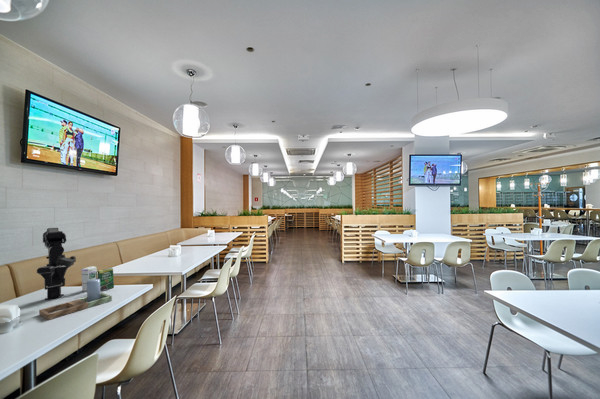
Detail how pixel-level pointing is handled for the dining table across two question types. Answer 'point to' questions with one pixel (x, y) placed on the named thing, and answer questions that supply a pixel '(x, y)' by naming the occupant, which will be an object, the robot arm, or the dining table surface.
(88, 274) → the syrup box
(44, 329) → the dining table surface
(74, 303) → the caddy
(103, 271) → the coffee box
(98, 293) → the canister
